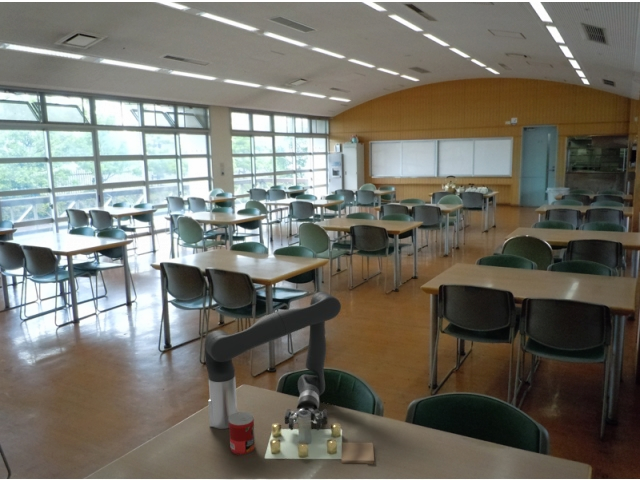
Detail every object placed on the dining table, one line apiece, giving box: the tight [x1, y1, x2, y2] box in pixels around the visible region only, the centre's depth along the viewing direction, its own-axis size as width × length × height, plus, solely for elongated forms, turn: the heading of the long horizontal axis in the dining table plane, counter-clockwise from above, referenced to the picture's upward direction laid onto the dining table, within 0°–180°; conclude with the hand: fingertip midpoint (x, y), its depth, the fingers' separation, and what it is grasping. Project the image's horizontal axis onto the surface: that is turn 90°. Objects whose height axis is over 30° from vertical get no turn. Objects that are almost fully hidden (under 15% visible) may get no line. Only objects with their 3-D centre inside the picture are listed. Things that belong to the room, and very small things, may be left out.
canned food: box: [228, 411, 256, 456], centre depth 170 cm, size 8×8×11 cm
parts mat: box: [264, 428, 343, 460], centre depth 173 cm, size 24×18×1 cm
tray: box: [340, 442, 375, 465], centre depth 166 cm, size 10×10×1 cm
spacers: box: [270, 422, 342, 458], centre depth 171 cm, size 23×15×4 cm, turn 87°
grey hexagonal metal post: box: [297, 410, 312, 444], centre depth 173 cm, size 4×5×10 cm
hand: (304, 427), depth 171 cm, fingers open, 8 cm apart
